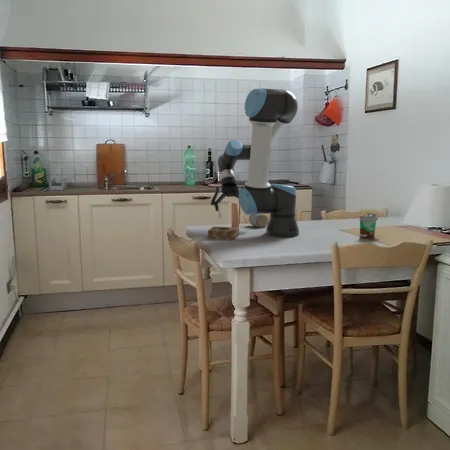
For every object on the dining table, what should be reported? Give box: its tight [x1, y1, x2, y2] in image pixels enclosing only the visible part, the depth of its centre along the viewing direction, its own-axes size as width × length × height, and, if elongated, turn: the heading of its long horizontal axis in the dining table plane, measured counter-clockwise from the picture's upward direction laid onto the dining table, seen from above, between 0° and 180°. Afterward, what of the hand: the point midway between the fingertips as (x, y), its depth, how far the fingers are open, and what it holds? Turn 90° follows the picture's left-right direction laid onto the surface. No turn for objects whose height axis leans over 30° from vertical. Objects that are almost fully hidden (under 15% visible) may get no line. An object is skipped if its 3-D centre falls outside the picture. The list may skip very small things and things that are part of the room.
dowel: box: [231, 202, 240, 228], centre depth 222 cm, size 3×3×14 cm
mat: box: [239, 230, 248, 236], centre depth 223 cm, size 10×8×1 cm
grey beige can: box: [248, 213, 269, 228], centre depth 240 cm, size 11×8×8 cm
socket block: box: [207, 226, 240, 241], centre depth 213 cm, size 12×10×4 cm
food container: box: [359, 212, 378, 239], centre depth 212 cm, size 12×6×10 cm, turn 148°
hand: (234, 215), depth 222 cm, fingers open, 13 cm apart
